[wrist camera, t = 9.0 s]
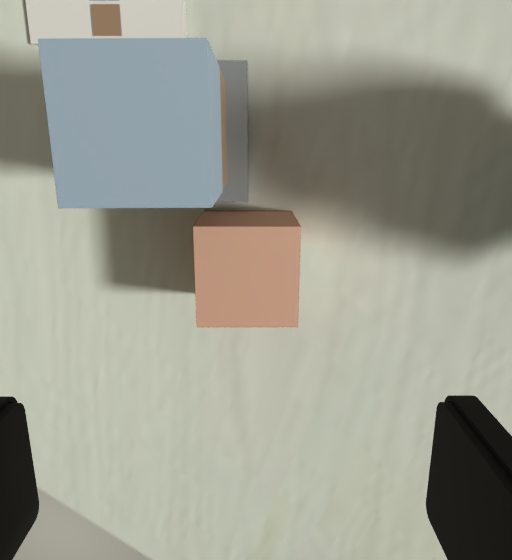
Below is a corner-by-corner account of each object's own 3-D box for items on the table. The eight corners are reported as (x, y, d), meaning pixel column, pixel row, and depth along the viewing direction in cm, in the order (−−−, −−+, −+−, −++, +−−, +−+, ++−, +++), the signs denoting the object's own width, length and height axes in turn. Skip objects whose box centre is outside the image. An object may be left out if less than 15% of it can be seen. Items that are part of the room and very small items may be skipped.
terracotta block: (290, 293, 31) (298, 327, 26) (207, 293, 31) (196, 327, 26) (291, 211, 30) (300, 226, 24) (204, 210, 30) (193, 226, 24)
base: (248, 200, 30) (246, 215, 23) (122, 200, 30) (84, 215, 23) (247, 62, 27) (245, 37, 21) (111, 63, 27) (66, 37, 21)
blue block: (222, 191, 23) (212, 207, 17) (108, 192, 23) (58, 208, 17) (219, 67, 21) (206, 38, 15) (96, 67, 21) (37, 38, 15)
